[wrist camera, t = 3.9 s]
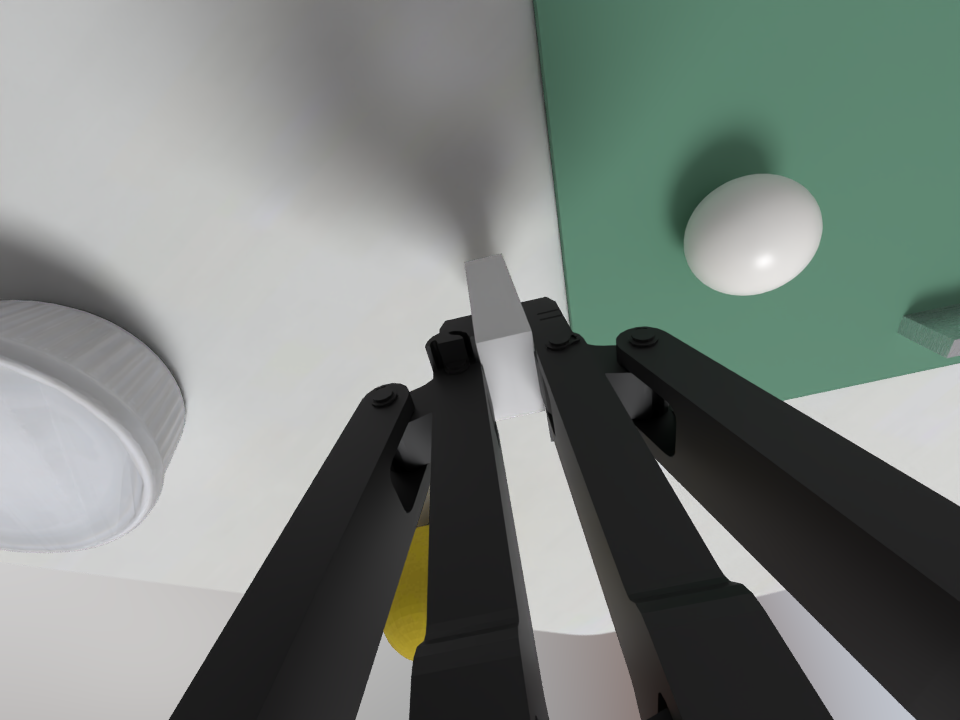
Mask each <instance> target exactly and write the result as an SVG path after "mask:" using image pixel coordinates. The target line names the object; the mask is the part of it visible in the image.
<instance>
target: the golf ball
mask: <svg viewBox="0 0 960 720" xmlns="http://www.w3.org/2000/svg"><path fill="white" fill-rule="evenodd" d="M822 230H823V222H822V215H821V211H820V208H819V206H818V204H817V202H816V200H815V198H814V197H813V196H812V194H811V193H810V192H809V191H808V190H807V189H806V188H805V187H804V186H802V185H801V184H799V183H798V182H796V181H794V180H792V179H790V178H787V177H784V176H780V175H774V174H752V175H746V176H743V177H739V178H736V179H733V180H731V181H729V182H726V183H725V184H723V185H721V186H719V187H718V188H716V189H715V190H713V191H712V192H711V193H709V194H708V195H707V196H706V197H705V198H704V199H703V200H702V201H701V202H700V203H699V205H698V206H697V207H696V209H695V210H694V212H693V213H692V215H691V217H690V219H689V221H688V224H687V226H686V230H685V234H684V253H685V257H686V260H687V263H688V265H689V267H690V269H691V271H692V272H693V273H694V275H695V276H696V277H697V278H698V279H699V280H700V281H701V282H702V283H703V284H705V285H706V286H708V287H710V288H712V289H713V290H716V291H718V292H721V293H725V294H729V295H739V296H747V295H756V294H761V293H765V292H768V291H771V290H774V289H776V288H778V287H780V286H782V285H784V284H786V283H787V282H789V281H790V280H792V279H793V278H795V277H796V276H797V275H798V274H799V273H801V272H802V271H803V270H804V268H805V267H806V266H807V265H808V264H809V262H810V261H811V260H812V258H813V257H814V255H815V253H816V251H817V249H818V246H819V244H820V240H821V236H822Z"/></svg>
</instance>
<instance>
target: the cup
mask: <svg viewBox="0 0 960 720" xmlns="http://www.w3.org/2000/svg"><path fill="white" fill-rule="evenodd" d="M897 333H898V334H900V335H902V336H904V337H906V338H908V339H909V340H911V341H913V342H915V343H917V344H919V345H921V346H923V347H925V348H927V349H929V350H931V351H933V352H935V353H937V354H939V355H941V356H943V357H945V358H951V357H955V356H960V303H959V304H955V305H950V306H946V307H941V308H937V309H932V310H928V311H923V312H918V313H914V314H909V315H905V316H903V317H902V320H901V323H900V326H899V329H898V331H897Z"/></svg>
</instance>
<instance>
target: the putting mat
mask: <svg viewBox="0 0 960 720" xmlns="http://www.w3.org/2000/svg"><path fill="white" fill-rule="evenodd" d="M533 4H534V13H535V21H536V30H537V39H538V48H539V57H540V65H541V74H542V83H543V92H544V101H545V109H546V118H547V127H548V136H549V145H550V153H551V162H552V171H553V180H554V189H555V197H556V206H557V215H558V224H559V233H560V241H561V250H562V259H563V268H564V277H565V285H566V294H567V303H568V312H569V320H570V328H571V330H572V332H574V333H577V334H580V335H581V336H582V337H583V338H584V339H585V341H586V343H587V344H590V345H600V346H606V345H616V338H617V336H618V335H619V334H620V333H622V332H624V331H625V330H627V329H631V328H635V327H642V326H647V327H653V328H658V329H661V330H663V331H666V332H667V333H669V334H671V335H672V336H674V337H676V338H677V339H679V340H681V341H683V342H684V343H686V344H688V345H689V346H691V347H693V348H694V349H696V350H698V351H699V352H701V353H703V354H704V355H706V356H708V357H709V358H711V359H713V360H714V361H716V362H718V363H720V364H721V365H723V366H725V367H726V368H728V369H730V370H731V371H733V372H735V373H736V374H738V375H740V376H741V377H743V378H745V379H746V380H748V381H750V382H751V383H753V384H755V385H756V386H758V387H760V388H762V389H763V390H765V391H767V392H768V393H770V394H772V395H773V396H775V397H777V398H778V399H780V400H782V401H784V400H788V399H793V398H798V397H802V396H807V395H812V394H816V393H821V392H826V391H831V390H835V389H840V388H845V387H849V386H854V385H859V384H864V383H868V382H873V381H878V380H882V379H887V378H892V377H896V376H901V375H906V374H911V373H915V372H920V371H925V370H929V369H934V368H939V367H944V366H948V365H953V364H958V363H960V356H955V357H951V358H945V357H943V356H941V355H939V354H937V353H935V352H933V351H931V350H929V349H927V348H925V347H923V346H921V345H919V344H917V343H915V342H913V341H911V340H909V339H908V338H906V337H904V336H902V335H900V334H898V333H897V331H898V329H899V326H900V323H901V320H902V317H903V316H905V315H909V314H914V313H918V312H923V311H928V310H932V309H937V308H941V307H946V306H950V305H955V304H959V303H960V0H533ZM752 174H774V175H780V176H784V177H787V178H790V179H792V180H794V181H796V182H798V183H799V184H801V185H802V186H804V187H805V188H806V189H807V190H808V191H809V192H810V193H811V194H812V196H813V197H814V198H815V200H816V202H817V204H818V206H819V208H820V211H821V215H822V222H823V230H822V236H821V240H820V244H819V246H818V249H817V251H816V253H815V255H814V257H813V258H812V260H811V261H810V262H809V264H808V265H807V266H806V267H805V268H804V270H803V271H802V272H801V273H799V274H798V275H797V276H796V277H795V278H793V279H792V280H790V281H789V282H787V283H786V284H784V285H782V286H780V287H778V288H776V289H774V290H771V291H768V292H765V293H761V294H756V295H747V296H739V295H729V294H725V293H721V292H718V291H716V290H713V289H712V288H710V287H708V286H706V285H705V284H703V283H702V282H701V281H700V280H699V279H698V278H697V277H696V276H695V275H694V273H693V272H692V271H691V269H690V267H689V265H688V263H687V260H686V257H685V253H684V234H685V230H686V226H687V224H688V221H689V219H690V217H691V215H692V213H693V212H694V210H695V209H696V207H697V206H698V205H699V203H700V202H701V201H702V200H703V199H704V198H705V197H706V196H707V195H708V194H709V193H711V192H712V191H713V190H715V189H716V188H718V187H719V186H721V185H723V184H725V183H726V182H729V181H731V180H733V179H736V178H739V177H743V176H746V175H752Z"/></svg>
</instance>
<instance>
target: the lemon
mask: <svg viewBox="0 0 960 720" xmlns="http://www.w3.org/2000/svg"><path fill="white" fill-rule="evenodd" d="M428 548H429V525H426V526H421V527H417V528H416V530H415V533H414V536H413V539H412V542H411V545H410V549H409V552H408V555H407V558H406V561H405V564H404V567H403V571H402V574H401V577H400V580H399V583H398V586H397V590H396V593H395V596H394V599H393V602H392V605H391V609H390V612H389V615H388V618H387V621H386V624H385V628H384V634H385V636H386V638H387V640H388V642H389V643H390V644H391V646H392V647H393V648H394V649H395V650H396V651H397V652H398V653H400V654H401V655H402V656H404V657H405V658H407V659H409V660H412V661H413V658H414V655H415V651H416V648H417V646H418V645H420V644H421V643H422V642H423V641H424V638H425V635H426V619H427V584H428Z"/></svg>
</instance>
